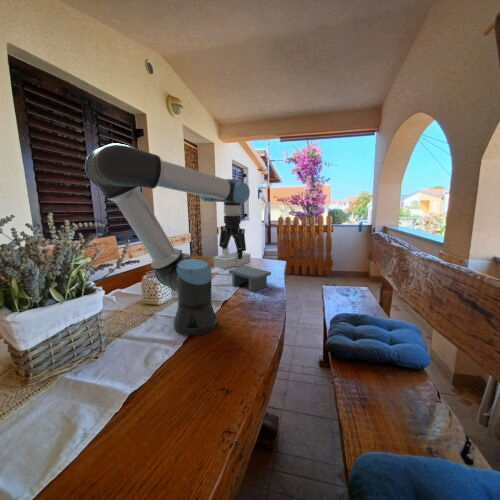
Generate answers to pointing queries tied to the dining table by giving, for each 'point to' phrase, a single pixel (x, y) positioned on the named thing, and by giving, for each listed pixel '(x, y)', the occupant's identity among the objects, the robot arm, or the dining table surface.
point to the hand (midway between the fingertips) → (232, 263)
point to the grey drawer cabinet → (249, 277)
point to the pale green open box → (230, 260)
